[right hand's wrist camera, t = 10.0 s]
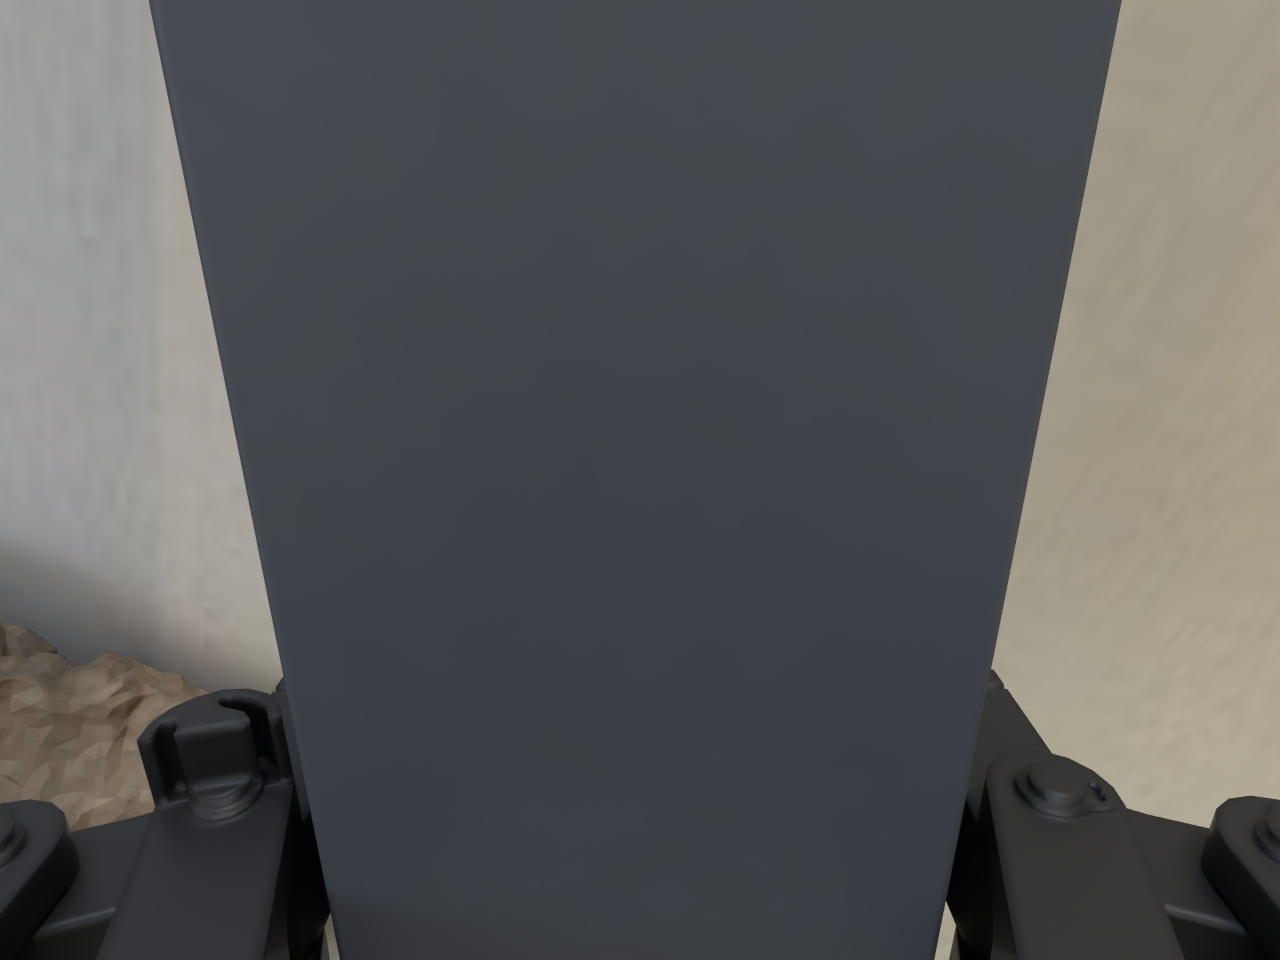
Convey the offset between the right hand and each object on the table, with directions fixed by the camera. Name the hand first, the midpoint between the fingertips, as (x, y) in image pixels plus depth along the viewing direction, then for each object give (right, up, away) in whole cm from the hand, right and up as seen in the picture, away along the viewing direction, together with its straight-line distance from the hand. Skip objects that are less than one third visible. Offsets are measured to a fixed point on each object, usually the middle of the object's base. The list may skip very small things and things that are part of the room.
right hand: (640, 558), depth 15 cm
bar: (0, +9, -3) cm, 10 cm away
